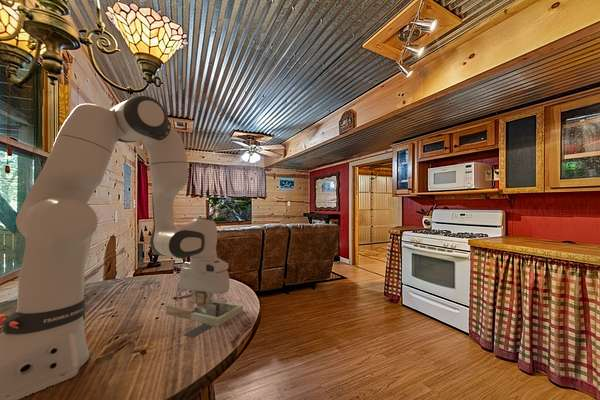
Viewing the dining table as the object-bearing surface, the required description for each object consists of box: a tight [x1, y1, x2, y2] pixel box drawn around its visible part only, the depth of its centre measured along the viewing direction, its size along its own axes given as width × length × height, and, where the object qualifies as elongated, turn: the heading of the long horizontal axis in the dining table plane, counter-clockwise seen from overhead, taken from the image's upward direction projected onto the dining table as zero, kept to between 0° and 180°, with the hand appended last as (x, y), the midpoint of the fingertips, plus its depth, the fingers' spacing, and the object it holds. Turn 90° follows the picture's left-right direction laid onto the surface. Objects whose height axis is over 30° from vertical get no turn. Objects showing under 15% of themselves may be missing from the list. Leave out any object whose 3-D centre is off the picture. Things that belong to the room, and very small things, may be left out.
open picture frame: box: [190, 302, 244, 327], centre depth 87 cm, size 13×11×2 cm
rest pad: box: [183, 323, 214, 339], centre depth 76 cm, size 8×4×1 cm, turn 156°
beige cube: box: [210, 298, 228, 315], centre depth 91 cm, size 4×4×4 cm
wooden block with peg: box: [193, 291, 208, 313], centre depth 90 cm, size 7×3×6 cm, turn 157°
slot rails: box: [165, 295, 216, 320], centre depth 92 cm, size 12×12×3 cm
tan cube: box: [198, 303, 217, 317], centre depth 86 cm, size 4×4×4 cm
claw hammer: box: [172, 291, 200, 302], centre depth 110 cm, size 21×7×1 cm, turn 141°
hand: (202, 303), depth 90 cm, fingers closed on wooden block with peg, 3 cm apart
